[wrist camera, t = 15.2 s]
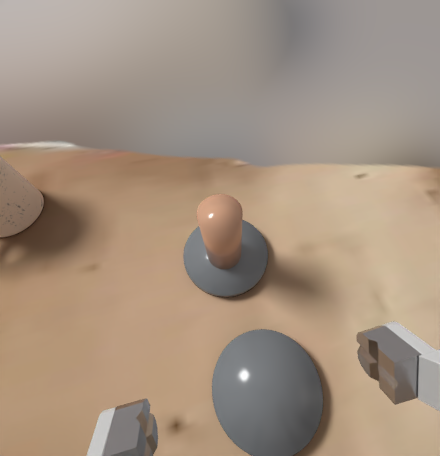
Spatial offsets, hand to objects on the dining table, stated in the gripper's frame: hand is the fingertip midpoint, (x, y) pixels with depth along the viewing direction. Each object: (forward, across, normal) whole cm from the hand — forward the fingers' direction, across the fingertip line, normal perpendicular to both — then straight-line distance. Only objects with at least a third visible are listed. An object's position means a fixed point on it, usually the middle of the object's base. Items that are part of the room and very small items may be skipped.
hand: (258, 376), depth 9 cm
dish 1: (+21, -2, +4) cm, 21 cm away
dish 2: (+11, -2, +14) cm, 18 cm away
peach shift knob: (+20, -2, +3) cm, 21 cm away
